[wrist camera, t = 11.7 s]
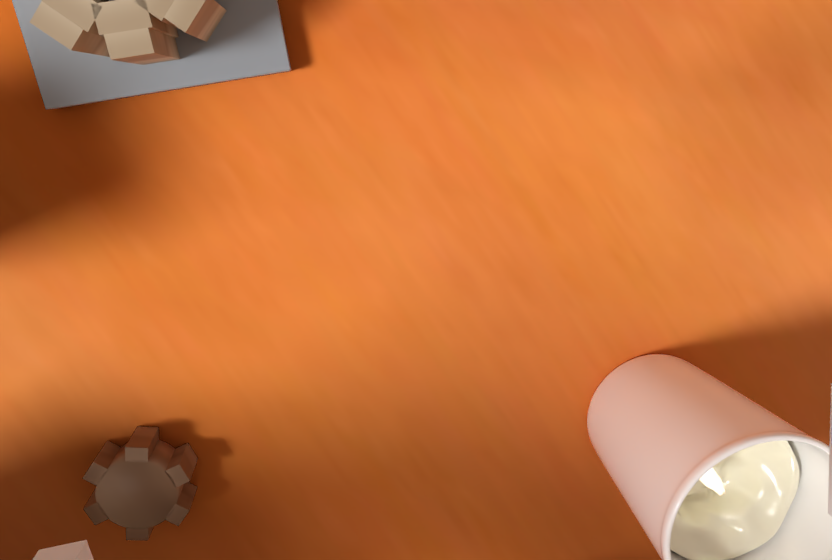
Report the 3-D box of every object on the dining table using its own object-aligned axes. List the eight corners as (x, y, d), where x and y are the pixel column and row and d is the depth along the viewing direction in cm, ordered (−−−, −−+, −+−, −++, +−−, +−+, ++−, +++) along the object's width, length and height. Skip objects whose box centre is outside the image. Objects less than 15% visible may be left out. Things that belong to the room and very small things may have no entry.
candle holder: (611, 321, 40) (723, 411, 29) (744, 365, 42) (897, 465, 31) (550, 459, 43) (631, 593, 31) (679, 494, 45) (801, 633, 33)
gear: (128, 528, 40) (116, 555, 38) (76, 454, 38) (60, 477, 36) (216, 487, 40) (209, 511, 38) (168, 411, 38) (158, 431, 36)
